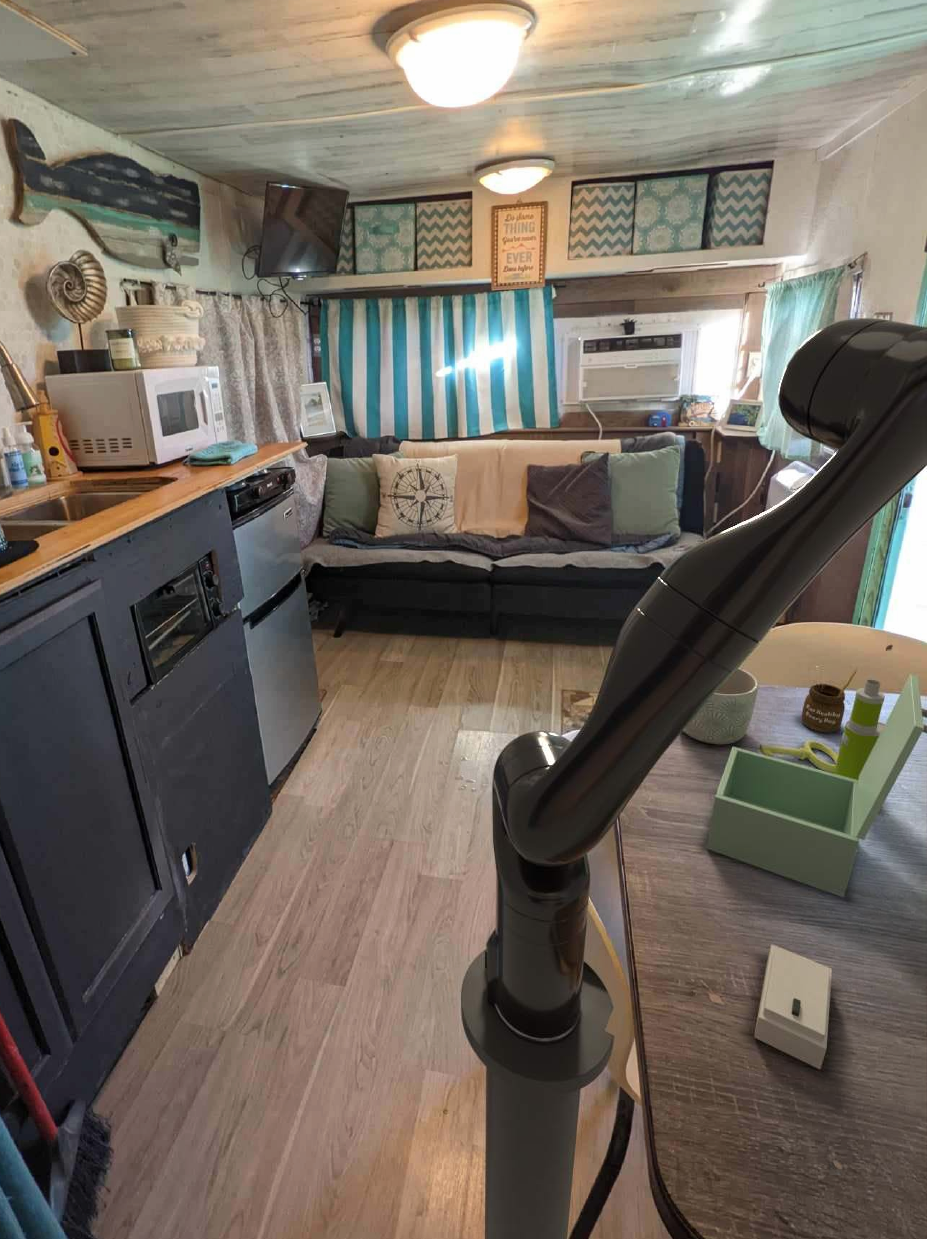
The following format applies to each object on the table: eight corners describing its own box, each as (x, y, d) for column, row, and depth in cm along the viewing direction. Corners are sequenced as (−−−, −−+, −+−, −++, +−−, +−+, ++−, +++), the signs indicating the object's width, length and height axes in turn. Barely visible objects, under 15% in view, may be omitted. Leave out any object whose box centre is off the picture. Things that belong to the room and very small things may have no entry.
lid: (915, 725, 69) (975, 745, 66) (910, 674, 79) (962, 689, 77) (855, 837, 76) (907, 858, 74) (858, 776, 86) (904, 793, 84)
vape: (823, 790, 98) (850, 675, 91) (867, 794, 97) (899, 677, 89) (834, 806, 94) (863, 688, 87) (880, 810, 93) (913, 690, 86)
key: (753, 754, 107) (755, 743, 106) (819, 745, 109) (822, 734, 108) (784, 781, 100) (787, 769, 100) (854, 770, 102) (857, 759, 101)
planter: (746, 759, 106) (756, 702, 102) (666, 740, 112) (673, 685, 108) (751, 723, 116) (761, 669, 112) (677, 707, 122) (684, 655, 118)
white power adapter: (820, 1070, 61) (829, 1038, 59) (753, 1037, 64) (761, 1006, 63) (826, 988, 69) (835, 958, 67) (767, 963, 72) (773, 933, 70)
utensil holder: (802, 712, 118) (814, 654, 114) (843, 722, 114) (857, 662, 110) (798, 727, 114) (810, 667, 109) (840, 738, 110) (855, 676, 106)
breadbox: (706, 848, 88) (715, 796, 85) (724, 794, 98) (732, 746, 95) (843, 897, 79) (858, 841, 76) (847, 832, 90) (861, 780, 86)
